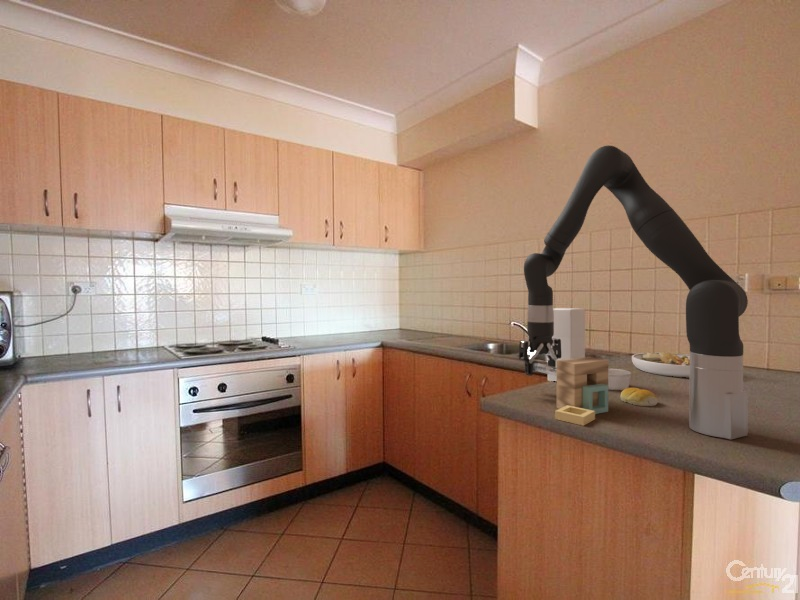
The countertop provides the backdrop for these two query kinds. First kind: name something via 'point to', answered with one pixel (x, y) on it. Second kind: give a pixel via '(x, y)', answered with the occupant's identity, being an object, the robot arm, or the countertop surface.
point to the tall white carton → (569, 333)
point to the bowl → (663, 363)
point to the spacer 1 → (575, 415)
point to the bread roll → (638, 397)
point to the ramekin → (618, 379)
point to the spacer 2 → (602, 398)
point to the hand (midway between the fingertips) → (540, 374)
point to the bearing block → (579, 379)
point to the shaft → (544, 368)
